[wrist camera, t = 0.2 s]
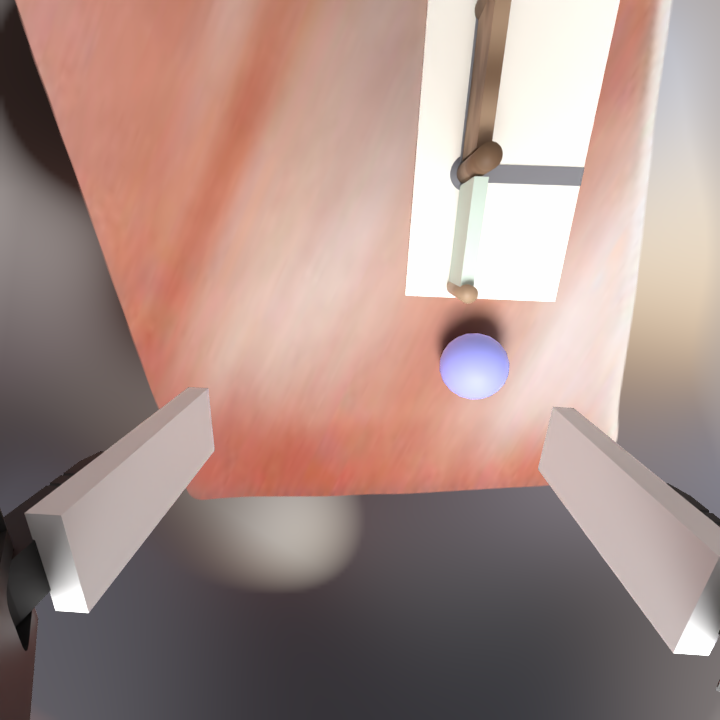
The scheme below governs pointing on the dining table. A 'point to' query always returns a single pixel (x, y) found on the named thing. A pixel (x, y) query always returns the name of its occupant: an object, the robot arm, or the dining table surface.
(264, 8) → the dining table surface
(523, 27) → the card
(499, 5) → the fixed fence section
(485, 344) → the sphere
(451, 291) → the folding fence panel
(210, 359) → the dining table surface
